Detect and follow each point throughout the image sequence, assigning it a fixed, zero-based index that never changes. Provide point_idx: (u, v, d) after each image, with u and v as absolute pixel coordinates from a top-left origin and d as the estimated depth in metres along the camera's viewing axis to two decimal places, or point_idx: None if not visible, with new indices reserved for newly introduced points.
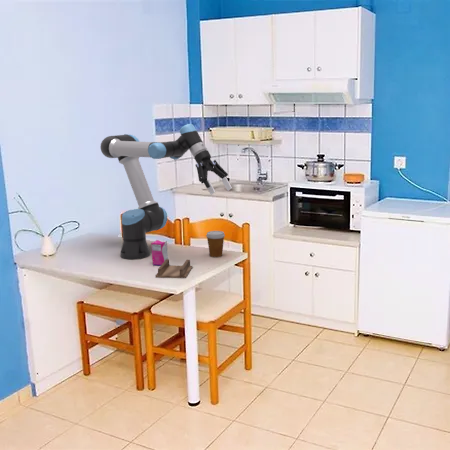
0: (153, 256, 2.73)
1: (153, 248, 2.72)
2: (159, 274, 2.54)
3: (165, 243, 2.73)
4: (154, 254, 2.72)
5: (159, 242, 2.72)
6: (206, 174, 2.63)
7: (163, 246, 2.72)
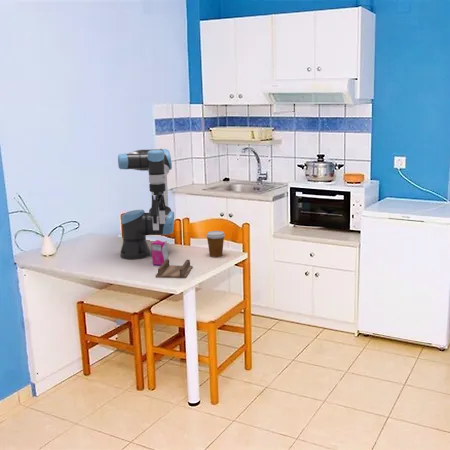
0: (153, 256, 2.73)
1: (153, 248, 2.72)
2: (159, 274, 2.54)
3: (165, 243, 2.73)
4: (154, 254, 2.72)
5: (159, 242, 2.72)
6: (158, 209, 2.64)
7: (163, 246, 2.72)
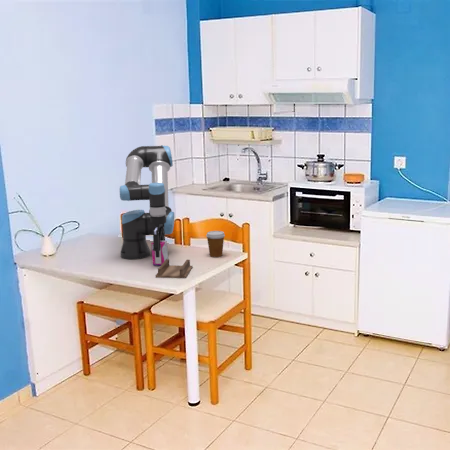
0: (153, 256, 2.73)
1: None
2: (159, 274, 2.54)
3: (165, 243, 2.73)
4: (154, 254, 2.72)
5: None
6: (159, 243, 2.69)
7: (163, 246, 2.72)
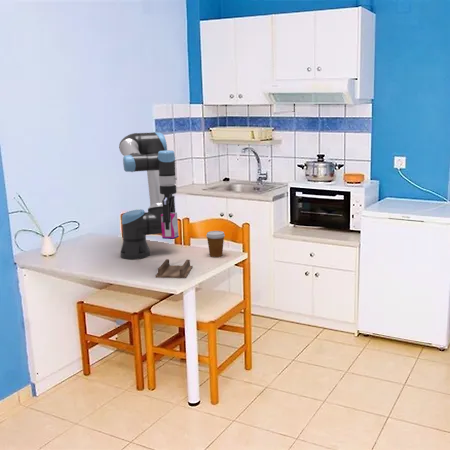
0: (163, 229, 2.57)
1: None
2: (159, 274, 2.54)
3: (175, 215, 2.58)
4: (163, 227, 2.57)
5: None
6: (169, 214, 2.54)
7: (173, 217, 2.57)
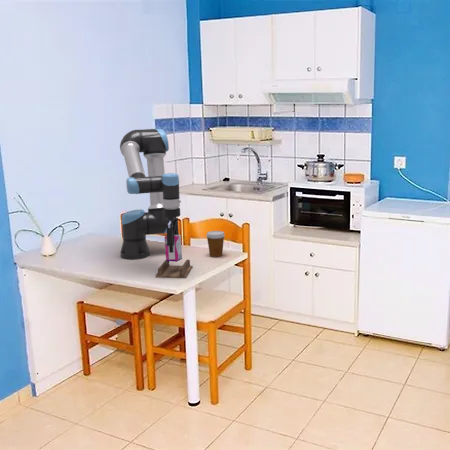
0: (166, 251, 2.58)
1: (166, 243, 2.57)
2: (159, 274, 2.54)
3: (179, 237, 2.58)
4: (167, 249, 2.57)
5: None
6: (173, 237, 2.54)
7: (177, 240, 2.57)
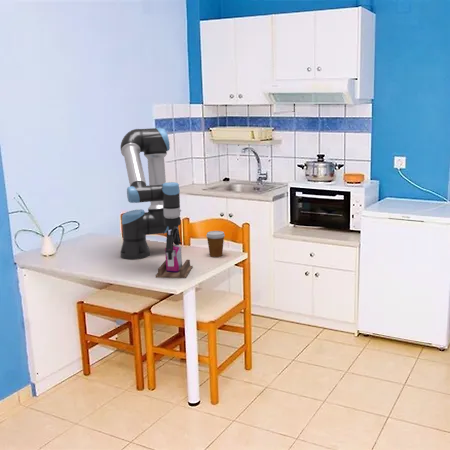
0: (167, 262, 2.59)
1: None
2: (159, 274, 2.54)
3: (179, 248, 2.59)
4: None
5: (173, 247, 2.58)
6: None
7: (178, 251, 2.58)
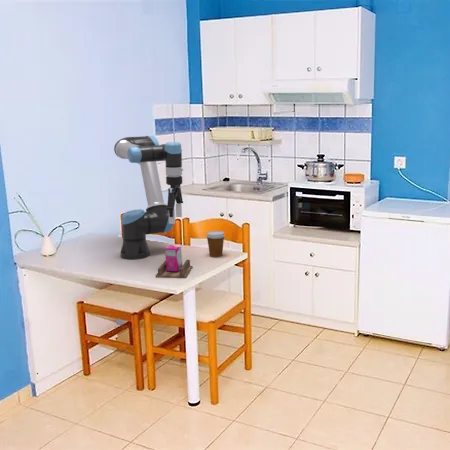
0: (167, 262, 2.59)
1: (167, 253, 2.58)
2: (159, 274, 2.54)
3: (179, 248, 2.59)
4: (168, 260, 2.58)
5: (173, 247, 2.58)
6: (174, 203, 2.60)
7: (178, 251, 2.58)
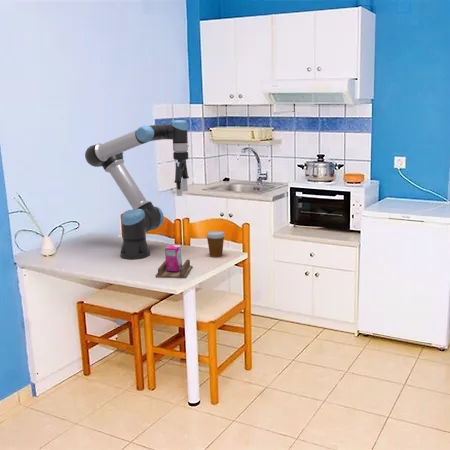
0: (167, 262, 2.59)
1: (167, 253, 2.58)
2: (159, 274, 2.54)
3: (179, 248, 2.59)
4: (168, 260, 2.58)
5: (173, 247, 2.58)
6: (181, 176, 2.79)
7: (178, 251, 2.58)
